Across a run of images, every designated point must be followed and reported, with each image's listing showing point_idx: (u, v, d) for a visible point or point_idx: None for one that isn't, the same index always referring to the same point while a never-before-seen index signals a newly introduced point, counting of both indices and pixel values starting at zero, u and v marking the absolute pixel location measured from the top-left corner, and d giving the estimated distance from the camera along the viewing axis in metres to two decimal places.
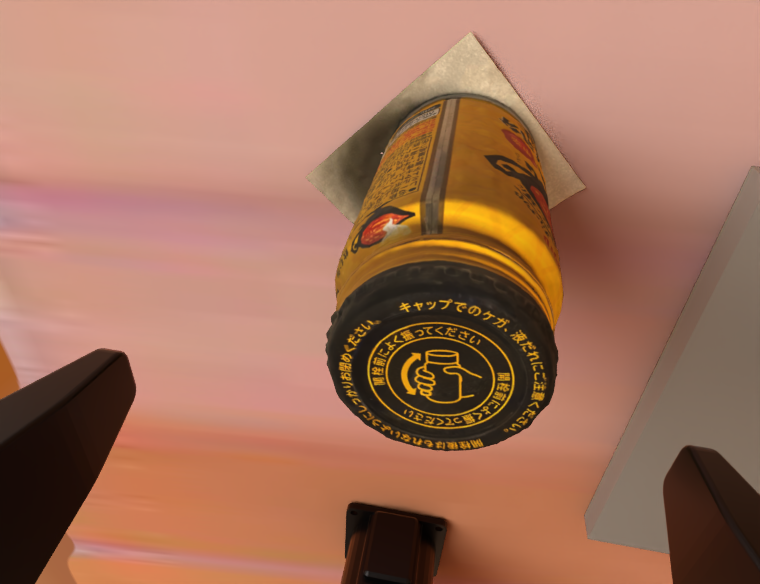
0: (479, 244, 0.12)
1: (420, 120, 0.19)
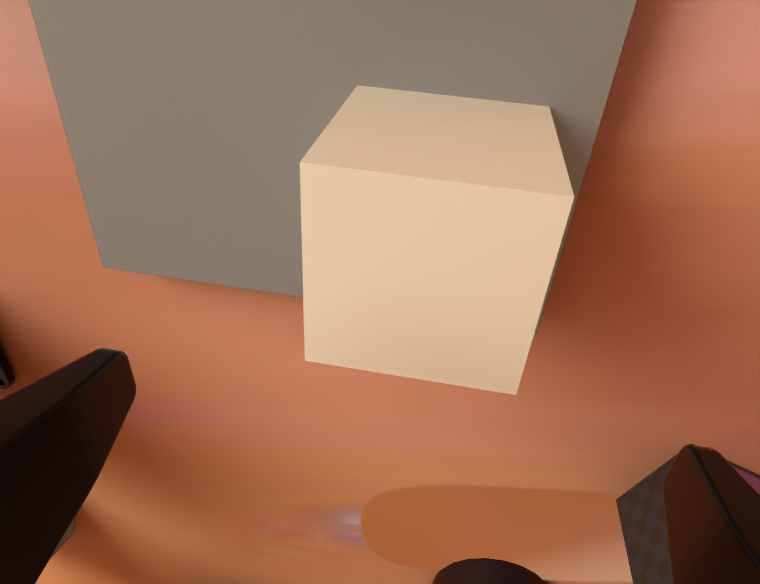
0: None
1: None
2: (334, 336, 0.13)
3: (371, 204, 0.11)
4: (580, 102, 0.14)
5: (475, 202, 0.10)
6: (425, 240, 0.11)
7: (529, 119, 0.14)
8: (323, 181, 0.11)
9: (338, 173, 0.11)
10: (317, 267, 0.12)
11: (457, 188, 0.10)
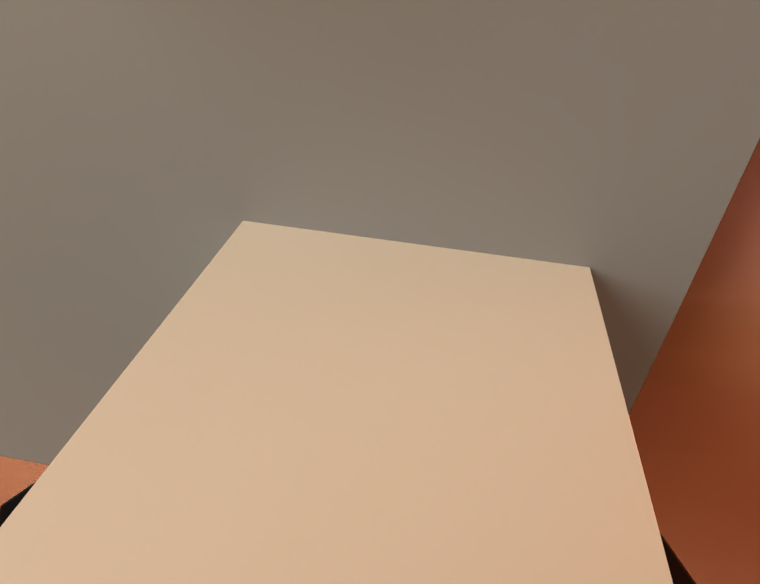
0: None
1: None
2: None
3: None
4: (649, 263, 0.08)
5: None
6: None
7: (556, 316, 0.07)
8: None
9: None
10: None
11: None
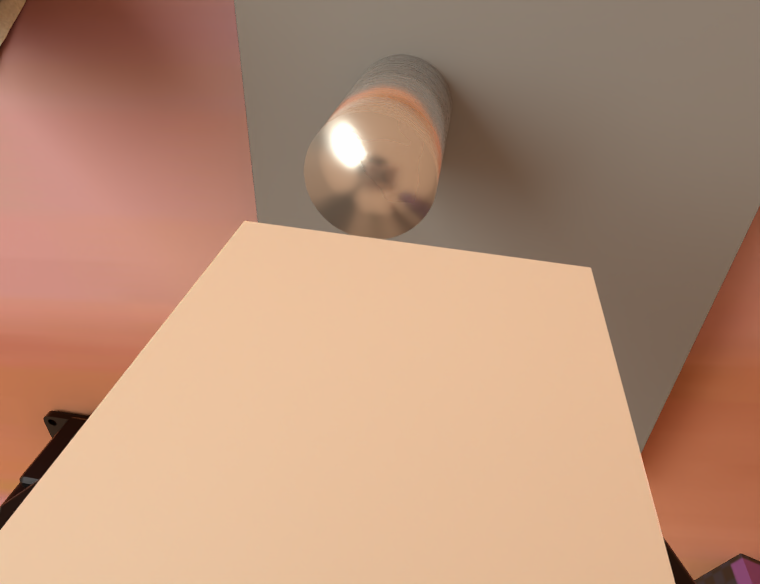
0: None
1: None
2: None
3: None
4: (668, 356, 0.20)
5: None
6: None
7: (557, 316, 0.07)
8: None
9: None
10: None
11: None
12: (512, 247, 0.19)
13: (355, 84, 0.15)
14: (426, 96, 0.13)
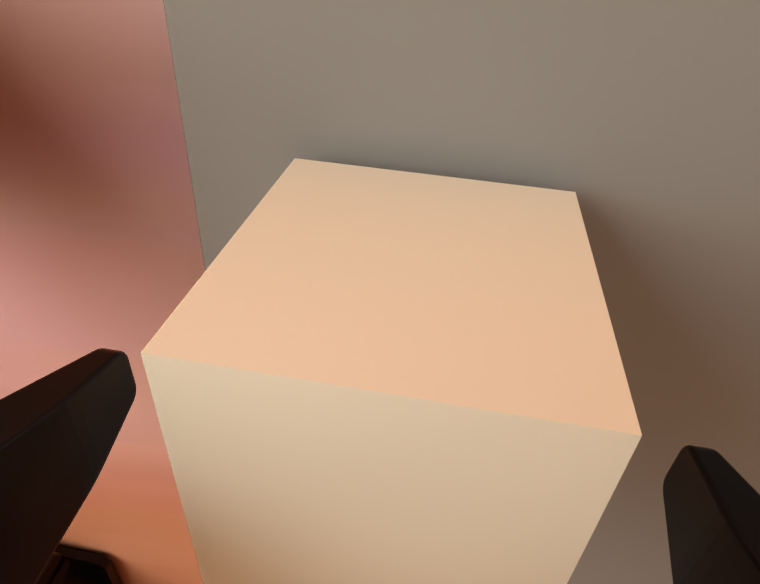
0: None
1: None
2: (243, 570, 0.08)
3: (274, 419, 0.06)
4: None
5: (456, 430, 0.06)
6: (372, 472, 0.06)
7: (547, 221, 0.09)
8: (186, 382, 0.06)
9: (209, 372, 0.06)
10: (201, 490, 0.07)
11: (423, 407, 0.06)
12: None
13: None
14: None
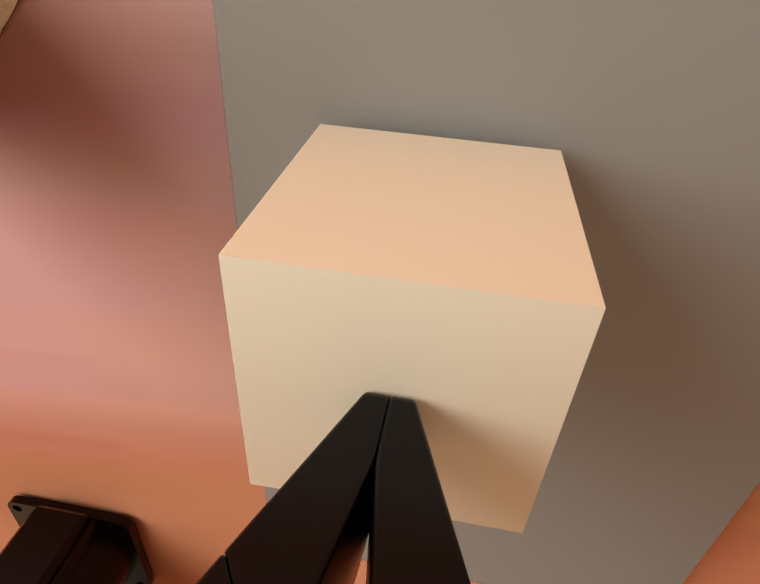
0: None
1: None
2: (284, 459, 0.10)
3: (320, 309, 0.08)
4: (721, 500, 0.17)
5: (464, 311, 0.07)
6: (396, 355, 0.08)
7: (536, 171, 0.11)
8: (252, 279, 0.08)
9: (272, 270, 0.08)
10: (255, 381, 0.09)
11: (439, 293, 0.07)
12: None
13: None
14: None
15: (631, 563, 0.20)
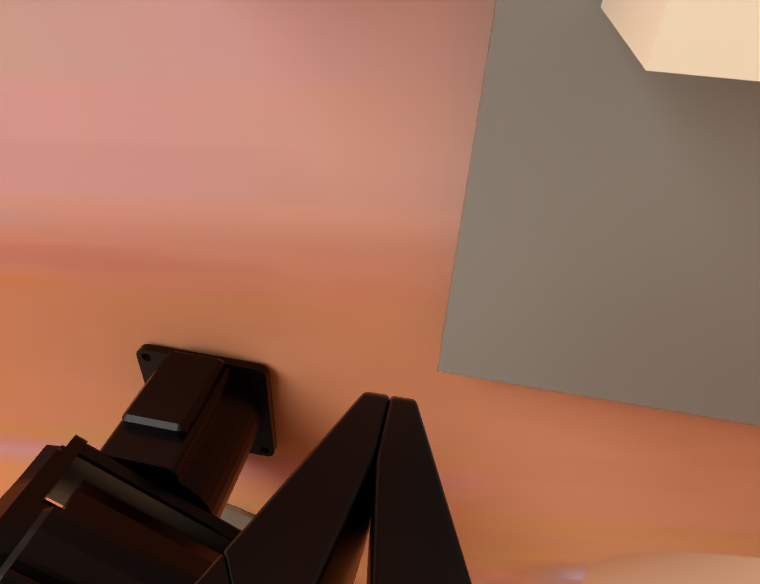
0: None
1: None
2: (719, 9, 0.08)
3: None
4: None
5: None
6: None
7: None
8: None
9: None
10: None
11: None
12: None
13: None
14: None
15: None
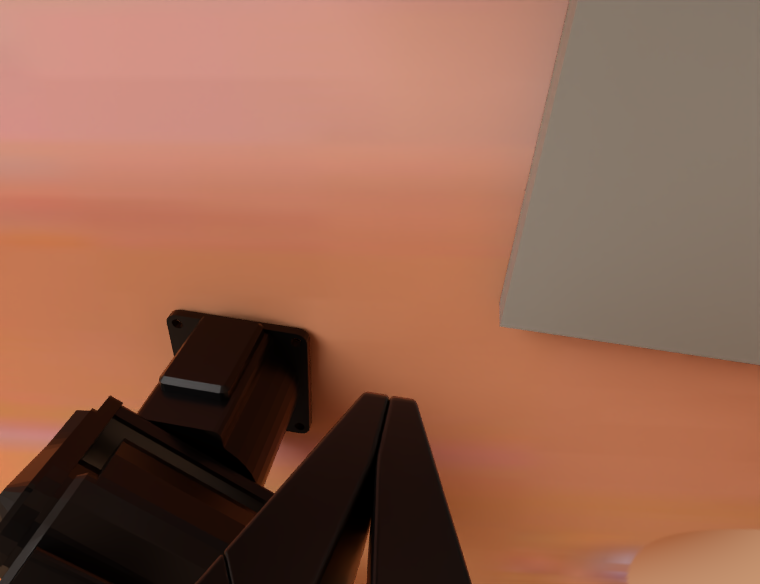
0: None
1: None
2: None
3: None
4: None
5: None
6: None
7: None
8: None
9: None
10: None
11: None
12: None
13: None
14: None
15: None
